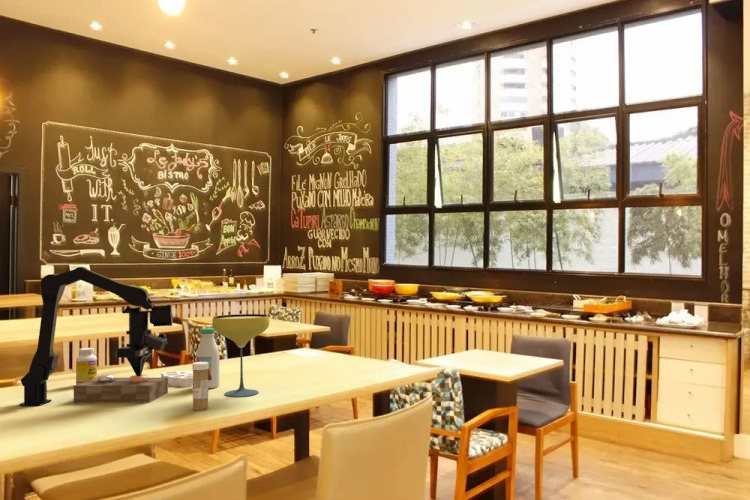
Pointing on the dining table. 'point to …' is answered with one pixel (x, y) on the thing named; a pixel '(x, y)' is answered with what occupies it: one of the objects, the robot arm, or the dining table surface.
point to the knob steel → (105, 379)
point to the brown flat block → (120, 390)
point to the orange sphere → (138, 379)
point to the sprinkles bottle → (200, 385)
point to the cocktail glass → (240, 338)
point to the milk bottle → (209, 356)
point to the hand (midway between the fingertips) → (138, 376)
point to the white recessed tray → (179, 378)
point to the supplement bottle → (86, 365)
